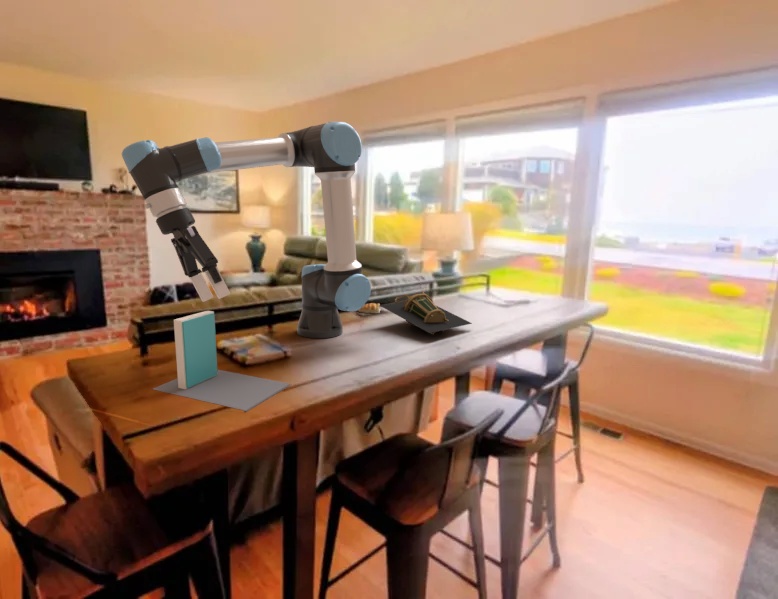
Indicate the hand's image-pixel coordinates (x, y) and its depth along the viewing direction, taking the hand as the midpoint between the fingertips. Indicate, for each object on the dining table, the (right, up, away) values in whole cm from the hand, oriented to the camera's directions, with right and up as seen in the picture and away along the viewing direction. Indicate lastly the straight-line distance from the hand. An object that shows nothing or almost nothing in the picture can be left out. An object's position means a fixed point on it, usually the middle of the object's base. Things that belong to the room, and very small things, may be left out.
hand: (216, 298), depth 106 cm
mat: (+2, -21, -1) cm, 21 cm away
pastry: (+33, -6, +79) cm, 85 cm away
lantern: (+51, -11, +57) cm, 77 cm away
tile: (-5, -20, +2) cm, 20 cm away
